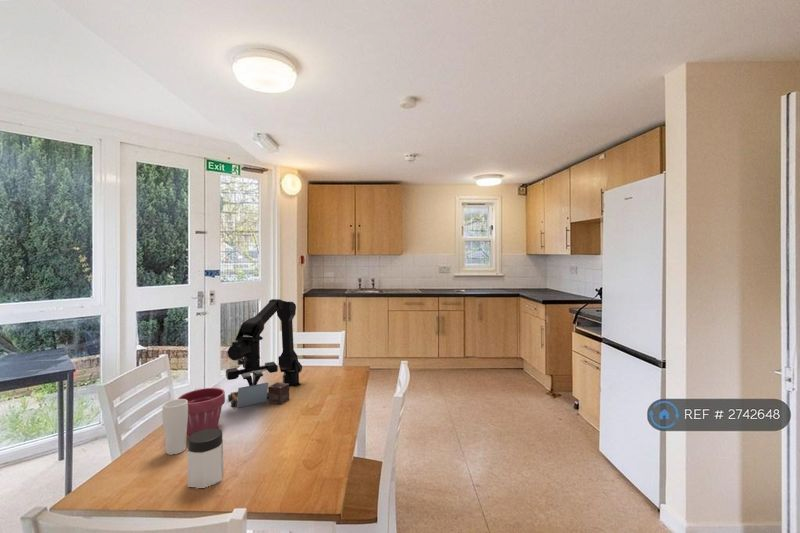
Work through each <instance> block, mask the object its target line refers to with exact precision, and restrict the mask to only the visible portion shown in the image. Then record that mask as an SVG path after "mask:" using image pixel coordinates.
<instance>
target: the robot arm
mask: <svg viewBox="0 0 800 533" xmlns="http://www.w3.org/2000/svg"><path fill="white" fill-rule="evenodd" d="M296 310H297V305H296V303H294V301H286V300H282V299H281V298H279V299H278V298H275V299H274V298H272V299H270V300H269V301H268V303H266V305H265V306H264V307H263V308H262V309H261V310H260V311H259V312H257V314H256V315H255V316H252V317H251V318H248V319H246V320H245V321H244V322H242V323H241V324H240V327H239V329H238V333H237V335H236V336H235V340H234V341H233V342H231V345H230V347H229V348H228V350H227V356H228V358H229V359H230V360H232V361H233V362H234V361H237V365H238V366H241V365H242V369H238V367H230V368H226V370H225V378H226V379H227V381H233V380H237V379H238V378H239V377H240V376H241V377H242V379H243V380H246V381H247V384H248V386H252V385H257V384H259V383H258V382H259V381H260V378H262V377H263V376H264V374H263V372H264V371H267V372H269V373H270V374H272V373H278V370H280V373H283V375H282V383H288V384H289V387H292V386H293V387H297V386H300V385H301V383H300V373H301V372H302V371H303V365H302V364H301V362H300V361H299V357H298V354H297V353H296V351H295V349H294V328H293V326H294V325H293V320H294V318H295V316H296ZM274 314H277V317H278V319H279V321H281V322H280V324H281V325H280V326H281V328H280V329H281V341H282V342H281V343H282V345H281V346H282V347H281V348H282V352H281V354H280V355H279V356H278V365H277V363H276V362H275V361H270V362H265V363H264V365H262V366H261V365H260V364H261V354H260V352H261V351H260V350H261V347H260V346H261V344H260V342H261V340H263V339H264V337H263V336H261V334H262V333H263V331H264V329H265V324H266V323H267V322H268V321H269V320H270V319H271V318H272V317H273V316H274ZM278 366H279V367H278ZM251 373H252V374H251Z"/></svg>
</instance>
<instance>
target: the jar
mask: <svg viewBox="0 0 800 533" xmlns="http://www.w3.org/2000/svg"><path fill="white" fill-rule="evenodd" d="M187 449H188V450H187V453H186V455H187V456H186V457H187V488H189V487H196V488H195V489H198V488H205V487H207V488H209V487H211V485H212V486H213V485H216V484H218V483H220V482H222V479H223V475H224V439H223V431H222V430H221V429H219V428H217V429H205V430H201V431H198V432H196V433H194V434H192V435H191V436H190V437H189V436H188V439H187ZM208 486H209V487H208ZM205 489H206V488H205Z"/></svg>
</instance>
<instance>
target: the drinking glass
mask: <svg viewBox="0 0 800 533" xmlns="http://www.w3.org/2000/svg"><path fill="white" fill-rule="evenodd" d="M161 412H162V415H161V416H162V425H163V433H164V442H165V443H164V444H165V453H166V454H167V455H170V456H172V455H173V454H175V455H178V453H179V454H180V453H183V452H184V451H185V450H186V449H187V437H188V435H187V424H188V400H186V399H178V398H176V399H172V400H169V401H166V402H164V403H163V404H162V411H161ZM173 456H174V455H173Z"/></svg>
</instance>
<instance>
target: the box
mask: <svg viewBox="0 0 800 533" xmlns="http://www.w3.org/2000/svg"><path fill="white" fill-rule="evenodd" d="M267 393H268V395H269V399H268V400H269V401H268V403H269V404H270V405H271V404H273V405H278V406H279V405H283V404H285V403H286V402H288V401H289V400H290V386H289V384H288V383H283V382H278V381H277V382H276V383H273V384H271V385H268V391H267Z"/></svg>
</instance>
